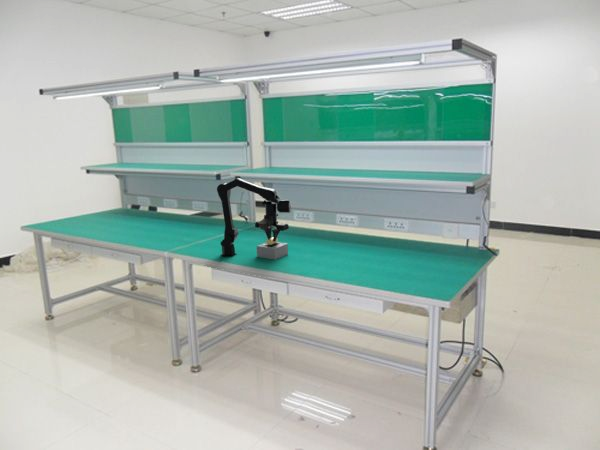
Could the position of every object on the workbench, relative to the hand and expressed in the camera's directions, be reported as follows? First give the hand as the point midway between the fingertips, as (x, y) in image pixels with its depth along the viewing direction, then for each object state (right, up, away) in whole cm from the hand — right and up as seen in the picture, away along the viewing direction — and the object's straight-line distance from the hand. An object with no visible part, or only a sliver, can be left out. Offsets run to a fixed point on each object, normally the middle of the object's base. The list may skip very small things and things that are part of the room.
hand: (272, 241), depth 248 cm
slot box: (0, -8, +2) cm, 8 cm away
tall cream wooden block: (0, -1, 0) cm, 1 cm away
